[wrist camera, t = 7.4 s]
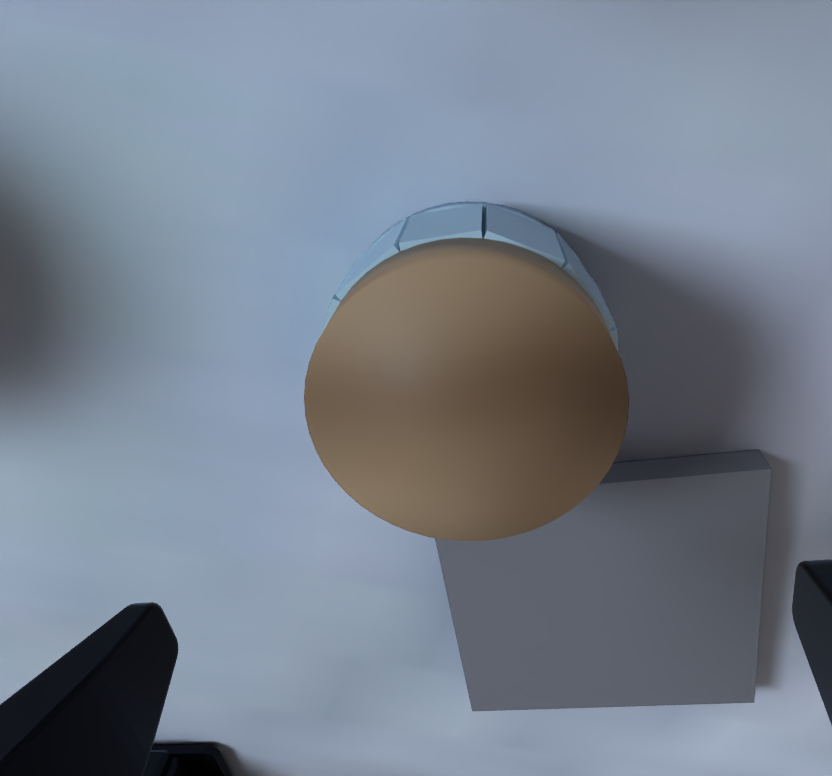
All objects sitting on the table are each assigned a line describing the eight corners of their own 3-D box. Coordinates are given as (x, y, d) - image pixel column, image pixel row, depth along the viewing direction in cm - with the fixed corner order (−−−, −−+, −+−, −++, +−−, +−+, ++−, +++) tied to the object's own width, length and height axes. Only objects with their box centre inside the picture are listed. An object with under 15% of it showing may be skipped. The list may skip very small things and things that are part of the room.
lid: (622, 487, 16) (634, 528, 15) (356, 511, 18) (345, 552, 16) (607, 212, 13) (620, 231, 12) (286, 264, 15) (265, 287, 13)
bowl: (603, 422, 20) (625, 492, 17) (373, 446, 21) (353, 515, 18) (588, 179, 16) (611, 209, 13) (317, 224, 18) (281, 261, 15)
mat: (744, 677, 24) (754, 702, 23) (472, 688, 25) (472, 711, 25) (758, 449, 19) (771, 468, 18) (429, 480, 21) (426, 499, 20)
